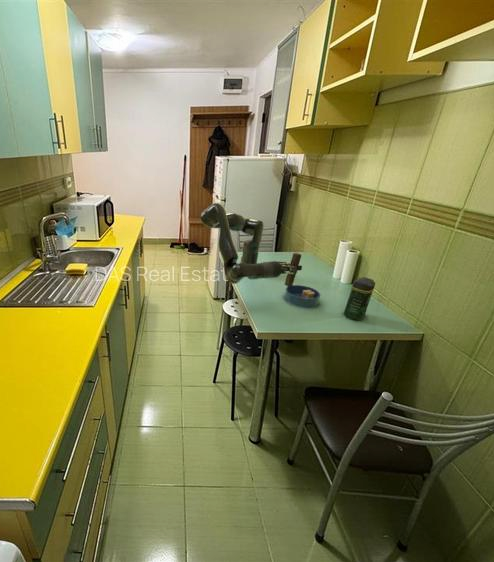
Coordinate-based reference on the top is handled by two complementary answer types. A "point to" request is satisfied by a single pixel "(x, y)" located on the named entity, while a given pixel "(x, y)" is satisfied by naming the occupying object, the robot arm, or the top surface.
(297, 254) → the stick
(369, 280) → the coffee jar
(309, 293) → the block
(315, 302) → the bowl
